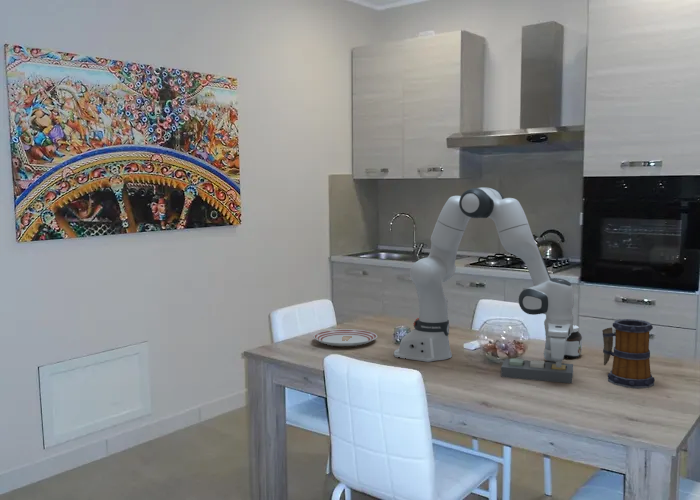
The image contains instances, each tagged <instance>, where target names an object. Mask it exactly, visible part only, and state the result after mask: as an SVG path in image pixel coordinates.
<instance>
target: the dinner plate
mask: <svg viewBox="0 0 700 500" xmlns="http://www.w3.org/2000/svg"><path fill="white" fill-rule="evenodd" d="M343 336H352V338H350V339H349V340H348V341H346V340H345V341H342V337H343ZM312 337H313V339H314V340H315V341H317V342H319V343H321V344H324V345H326V344H327V345H326V346H329V345H331V346H330V347H333V346H355V347H358V346H357V345H361V346H363V345H362V344H364V345H365V344H368V343H370V342H372V341H374V340H375V339H378V335H377V334H376V333H374V332H372V331H370V330H363V329H354V328H353V329H351V328H350V329H348V328H347V329H346V328H345V329H344V328H341V329H340V328H339V329H329V330H323V331H318V332H316V333H314V334H313V335H312Z"/></svg>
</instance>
